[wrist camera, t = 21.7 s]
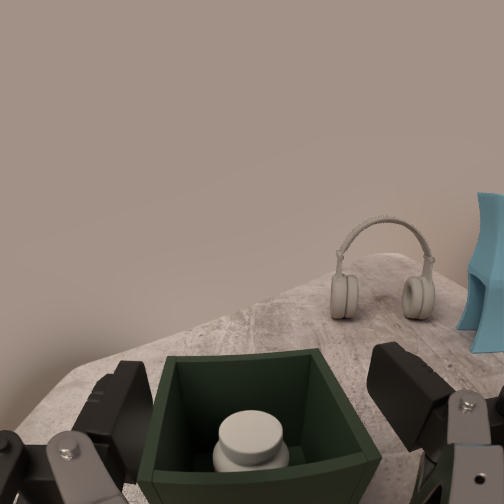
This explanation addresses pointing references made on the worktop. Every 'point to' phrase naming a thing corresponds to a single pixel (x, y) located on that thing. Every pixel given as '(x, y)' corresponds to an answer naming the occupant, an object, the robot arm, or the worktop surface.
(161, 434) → the trash bin
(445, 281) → the worktop surface
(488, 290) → the blue two-legged arch
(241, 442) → the pill bottle
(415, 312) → the headphones
